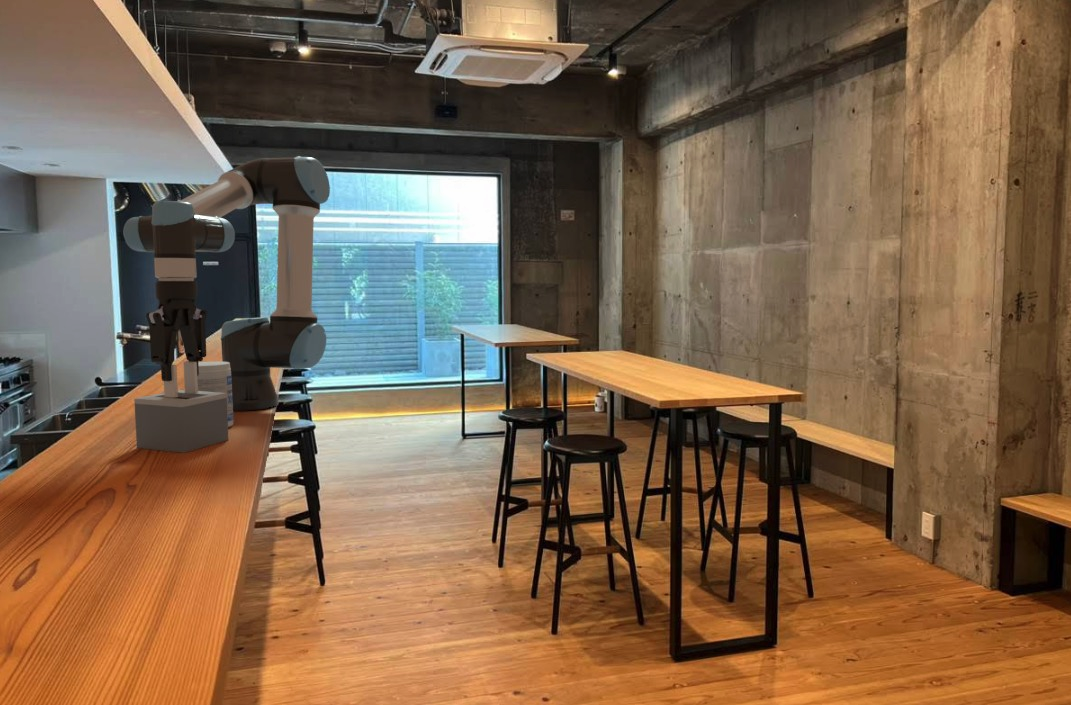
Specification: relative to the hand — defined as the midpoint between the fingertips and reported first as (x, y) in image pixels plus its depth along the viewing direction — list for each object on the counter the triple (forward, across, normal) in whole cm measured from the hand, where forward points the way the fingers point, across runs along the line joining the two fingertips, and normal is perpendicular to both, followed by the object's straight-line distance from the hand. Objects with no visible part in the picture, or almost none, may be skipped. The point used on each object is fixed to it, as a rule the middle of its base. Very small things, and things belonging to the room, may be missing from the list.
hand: (181, 394), depth 150 cm
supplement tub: (+11, -15, -7) cm, 20 cm away
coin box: (+10, 0, 0) cm, 10 cm away
